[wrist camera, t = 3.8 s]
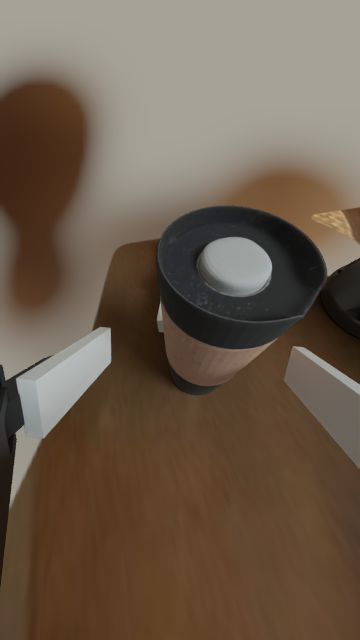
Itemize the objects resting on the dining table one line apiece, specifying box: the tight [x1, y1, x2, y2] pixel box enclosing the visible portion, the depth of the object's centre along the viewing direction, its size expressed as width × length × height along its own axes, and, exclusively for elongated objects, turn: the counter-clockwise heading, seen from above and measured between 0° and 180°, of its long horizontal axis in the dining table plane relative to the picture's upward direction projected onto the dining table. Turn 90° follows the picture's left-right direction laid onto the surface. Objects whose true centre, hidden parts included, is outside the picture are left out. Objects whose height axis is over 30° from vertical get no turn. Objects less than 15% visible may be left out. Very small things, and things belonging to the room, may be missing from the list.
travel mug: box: [156, 205, 327, 395], centre depth 17 cm, size 8×8×20 cm
